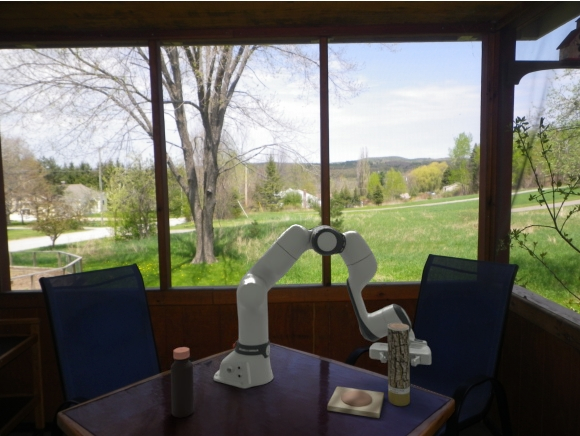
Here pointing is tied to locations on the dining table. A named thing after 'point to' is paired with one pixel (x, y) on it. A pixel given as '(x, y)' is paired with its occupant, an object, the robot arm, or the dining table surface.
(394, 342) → the bark print tube
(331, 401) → the holder board
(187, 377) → the bottle
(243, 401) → the dining table surface
